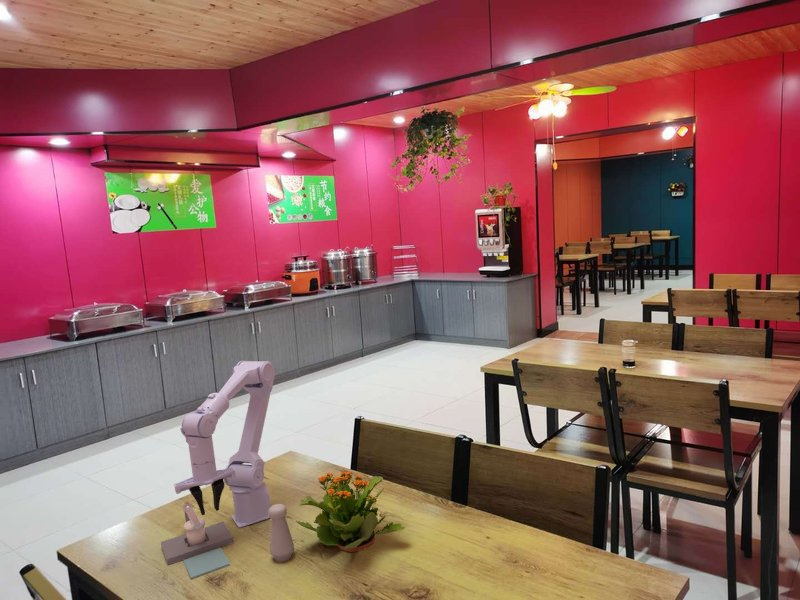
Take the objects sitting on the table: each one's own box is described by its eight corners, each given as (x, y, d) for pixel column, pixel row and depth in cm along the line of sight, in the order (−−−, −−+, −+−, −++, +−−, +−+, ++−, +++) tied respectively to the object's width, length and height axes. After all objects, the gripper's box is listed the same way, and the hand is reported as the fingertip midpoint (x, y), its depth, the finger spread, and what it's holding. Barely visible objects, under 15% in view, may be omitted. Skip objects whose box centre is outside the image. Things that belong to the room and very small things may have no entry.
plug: (205, 537, 152) (202, 515, 151) (210, 545, 148) (207, 523, 147) (185, 544, 149) (182, 522, 149) (189, 553, 145) (185, 530, 144)
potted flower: (421, 526, 148) (416, 461, 146) (380, 580, 127) (372, 505, 125) (338, 513, 159) (331, 452, 156) (287, 561, 137) (278, 491, 135)
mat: (220, 548, 146) (220, 547, 146) (229, 565, 138) (229, 563, 138) (183, 561, 141) (183, 560, 141) (191, 579, 133) (190, 577, 133)
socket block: (223, 526, 157) (223, 521, 157) (233, 542, 148) (232, 536, 148) (161, 547, 149) (160, 542, 149) (167, 565, 140) (167, 559, 140)
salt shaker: (289, 564, 136) (283, 512, 134) (266, 563, 137) (260, 512, 136) (298, 550, 142) (292, 500, 140) (276, 550, 143) (270, 500, 141)
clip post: (194, 529, 157) (191, 507, 156) (195, 532, 155) (192, 510, 154) (186, 531, 156) (183, 510, 155) (188, 535, 154) (185, 513, 153)
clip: (182, 509, 155) (182, 505, 155) (191, 506, 156) (191, 502, 156) (192, 530, 143) (192, 525, 143) (202, 527, 144) (202, 522, 144)
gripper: (175, 473, 137) (182, 527, 139) (236, 456, 145) (242, 508, 146) (170, 464, 143) (177, 515, 145) (228, 448, 151) (235, 498, 152)
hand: (209, 511), depth 146 cm, fingers open, 3 cm apart
